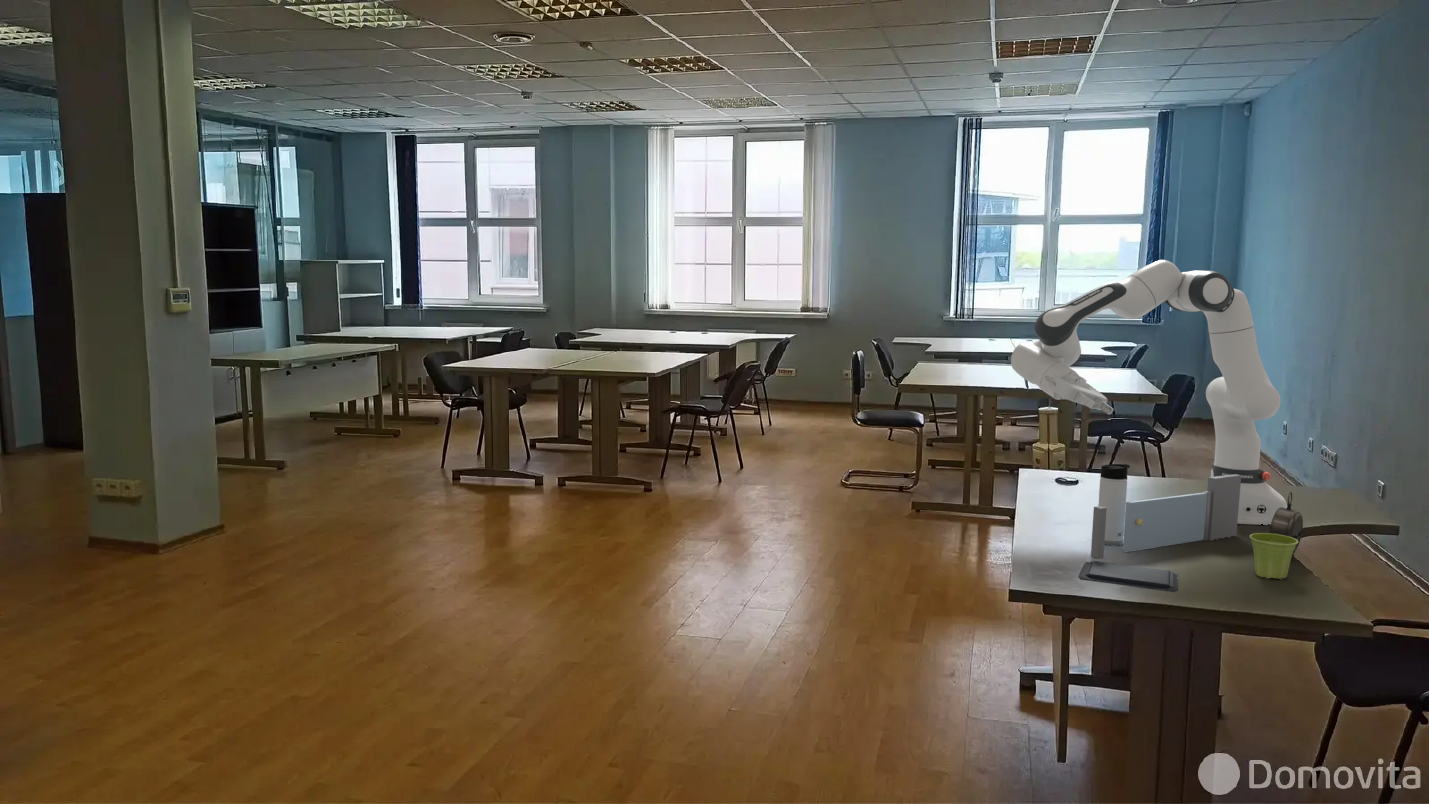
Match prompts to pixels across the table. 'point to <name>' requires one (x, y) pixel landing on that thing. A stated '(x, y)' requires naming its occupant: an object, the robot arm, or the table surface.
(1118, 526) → the travel mug
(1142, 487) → the table surface
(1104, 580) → the dark grey book
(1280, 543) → the plant pot
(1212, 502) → the pair of grey slabs
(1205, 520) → the door
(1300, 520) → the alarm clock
